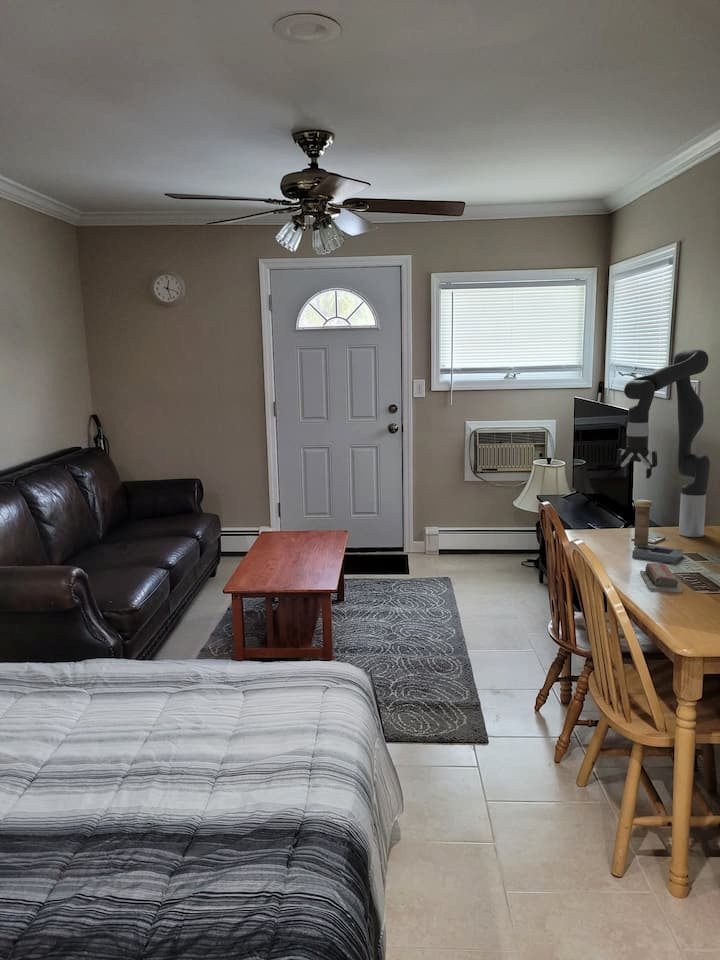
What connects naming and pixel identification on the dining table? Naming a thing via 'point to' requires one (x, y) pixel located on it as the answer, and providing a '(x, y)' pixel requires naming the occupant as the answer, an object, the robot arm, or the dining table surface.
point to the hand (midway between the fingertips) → (635, 477)
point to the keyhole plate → (657, 553)
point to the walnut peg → (642, 521)
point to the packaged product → (660, 578)
